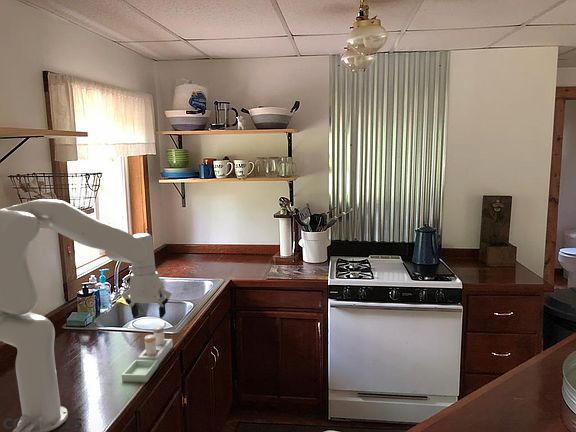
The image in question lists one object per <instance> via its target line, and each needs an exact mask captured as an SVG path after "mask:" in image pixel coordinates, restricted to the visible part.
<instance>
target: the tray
mask: <svg viewBox="0 0 576 432" xmlns="http://www.w3.org/2000/svg"><path fill="white" fill-rule="evenodd" d="M158 368H159V365H158V360H138V359H135V360H134V361H132V363H131V364H130V365H128V367H127V368H126V369H125V370H124V371H123V372H122V374H121V380H122V383H148V382H149V380H150V378H151V377H152V376H153V375H154V373H156V371H157V370H158Z"/></svg>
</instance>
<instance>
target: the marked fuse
mask: <svg viewBox="0 0 576 432" xmlns="http://www.w3.org/2000/svg"><path fill="white" fill-rule="evenodd" d="M144 346H145V349H146V356H155V355H156V354H157V351H156V338H155V335H154V334H147V335H145V336H144Z"/></svg>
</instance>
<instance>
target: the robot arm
mask: <svg viewBox="0 0 576 432" xmlns="http://www.w3.org/2000/svg"><path fill="white" fill-rule="evenodd" d="M40 228H41V229H48V230H52V231H54V232H55V233H58V234H60V235H63V236H64V237H67V238H68V239H71V240H72V241H74V242H76V243H78V244H81V245H82V246H86V247H89V248H93V249H97V250H102V251H104V253H105V256H106V257H107V258H108V259H110V260H111V261H115V262H120V263H121V262H123V263H127V264H128V263H129V264H131V266H128V271H131V272H132V273H131V274H130V277H129V278H130V279H129V290H127V291H126V292H124V293H122V297H123V300H124V301H125V303H126V304H127V305H128V306H129V308H130V310H131V315H132V318H133V319H136V318H137V317H138V316H139V305H138V304H157V305H158V306H159V307H158V313H159V318H160V319H163V318H164V317H165V315H166V313H167V312H166V304H167V303H168V302H169V301H170V299H171V297H172V292H170V291H167V290H165V289H163V288H162V283H161V279H160V276H159V272H158V271H156V263H155V262H156V261H155V252H154V243H153V242H154V241H153V236H152V234H150V233H146V232H145V233H144V232H143V233H142V232H141V233H135V234H133V235H132V234H130V233H129V232H126V231H124V230H122V229H119V228H117V227H114V226H113V225H110V224H108V223H106V222H103V221H100V220H98V219H97V218H95V217H92V216H91V215H90V214H87V213H85V212H84V211H83V210H80V209H79V208H77V207H75V206H74V205H71V204H70V203H68V202H66V201H64V200H60V199H50V198H49V199H48V198H47V199H46V198H41V199H40V198H39V199H35V200H30V201H26V202H22V203H20V204H19V203H18V204H16V205H12V206H8V207H4V208H0V341H1V343H4V344H7V345H10V346H12V347H15V348H16V349H17V354H16V358H15V373H16V381H17V386H18V394H19V401H20V408H21V409H20V410H21V415H20V419H19V421H18V422H17V424H16V425H17V426H16V427H15V428H14V429H13V430H12V432H51V431H53V430H55V429H56V428H58V427H60V426H61V425H63V423H64V422H66V421H67V419H68V418H69V417H68V416H69V415H68V412H69V411H68V409H67V408H66V407H65V406H61V405H62V404H61V397H60V391H59V384H58V383H59V382H58V376H57V369H56V368H57V367H56V359H55V348H54V347H55V336H56V331H55V327H54V324H53V322H51V320H50V319H49V318H47V317H46V316H44V315H41V314H38V313H35V312H32V311H33V310H35V308H36V307H37V305H38V301H39V294H38V291H37V289H36V285H35V283H34V279H33V275H32V274H31V270H30V268H29V267H30V266H29V263H28V252H29V249H30V247H31V245H32V244H33V243H34V241H35V240H36V238H37V237H38V234H39V232H40ZM163 296H165V298H163Z"/></svg>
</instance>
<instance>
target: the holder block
mask: <svg viewBox="0 0 576 432" xmlns="http://www.w3.org/2000/svg"><path fill="white" fill-rule="evenodd" d="M173 345H174V343H173V338H165V345H164V346H156V351H157V354H156V355H155V356H146V348H145V349H144V350H143V351H142V352H141V353H140V354H139V355H138V356H137V360H158V366H159V365H160V363H162V361H163V360H164V359H165V357H166V356H167V354H169V352H170V351H171V350H172V348H174V347H173Z"/></svg>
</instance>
